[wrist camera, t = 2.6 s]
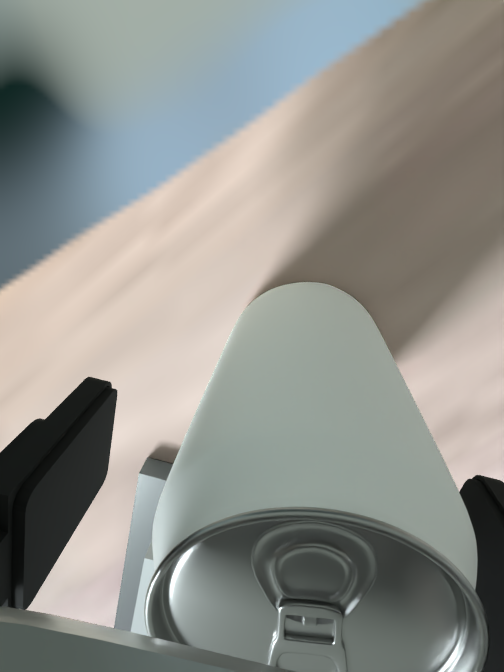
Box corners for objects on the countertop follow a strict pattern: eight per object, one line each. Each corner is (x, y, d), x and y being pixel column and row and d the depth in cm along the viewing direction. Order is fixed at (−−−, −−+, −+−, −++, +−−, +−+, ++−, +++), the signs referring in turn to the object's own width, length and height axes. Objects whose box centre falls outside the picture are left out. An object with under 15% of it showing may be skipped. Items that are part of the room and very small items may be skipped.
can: (387, 279, 16) (575, 506, 5) (372, 417, 19) (477, 776, 8) (228, 277, 17) (89, 473, 6) (233, 410, 19) (141, 729, 8)
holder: (411, 528, 21) (436, 610, 17) (328, 683, 26) (332, 771, 22) (147, 457, 21) (112, 521, 17) (119, 625, 26) (87, 703, 22)
